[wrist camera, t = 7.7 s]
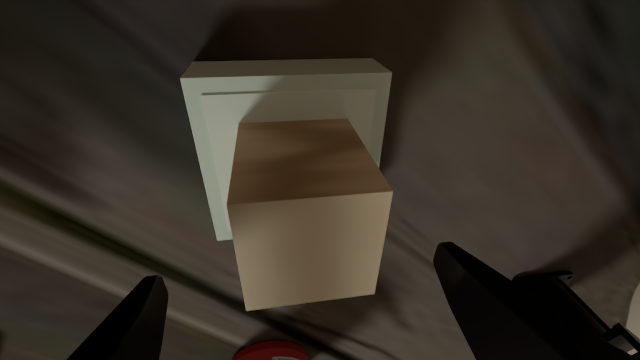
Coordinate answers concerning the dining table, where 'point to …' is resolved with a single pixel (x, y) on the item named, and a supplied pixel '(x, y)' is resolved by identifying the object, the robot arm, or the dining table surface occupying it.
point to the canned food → (272, 351)
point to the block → (306, 212)
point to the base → (277, 108)
